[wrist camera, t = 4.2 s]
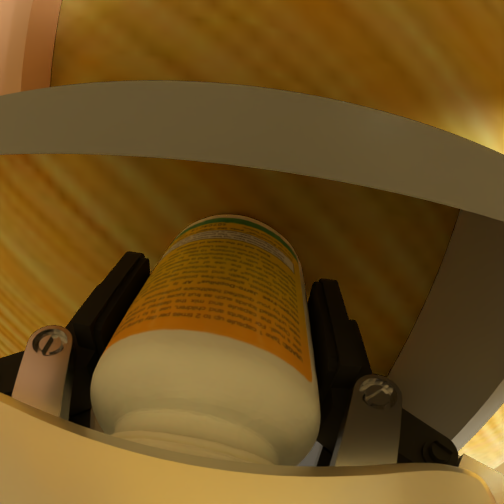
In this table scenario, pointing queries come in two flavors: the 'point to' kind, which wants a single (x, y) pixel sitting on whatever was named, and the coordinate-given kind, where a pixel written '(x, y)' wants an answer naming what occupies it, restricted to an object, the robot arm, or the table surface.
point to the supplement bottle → (216, 350)
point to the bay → (327, 167)
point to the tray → (27, 43)
